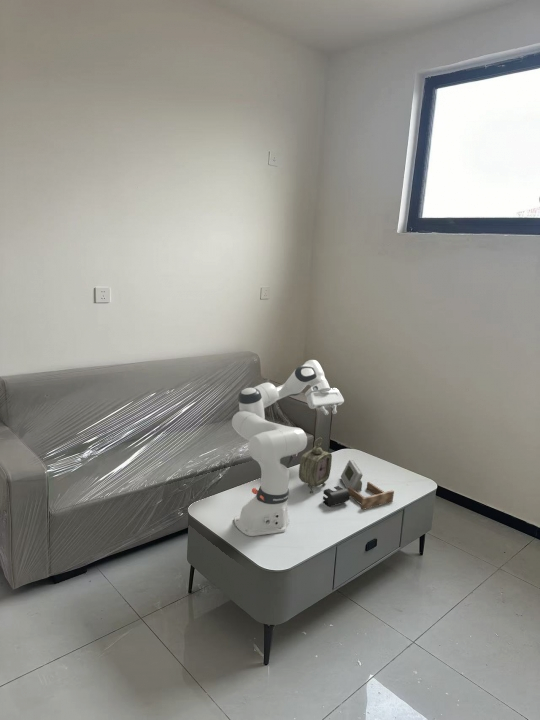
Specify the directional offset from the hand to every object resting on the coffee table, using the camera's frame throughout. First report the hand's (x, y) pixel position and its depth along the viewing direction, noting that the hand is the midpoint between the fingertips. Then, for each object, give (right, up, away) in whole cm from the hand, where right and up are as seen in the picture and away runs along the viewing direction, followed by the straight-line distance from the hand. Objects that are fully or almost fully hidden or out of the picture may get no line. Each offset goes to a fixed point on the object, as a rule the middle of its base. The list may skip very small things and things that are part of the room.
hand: (331, 413), depth 248 cm
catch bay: (+14, -36, -20) cm, 44 cm away
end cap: (-1, -37, -27) cm, 46 cm away
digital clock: (+8, -34, -10) cm, 36 cm away
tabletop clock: (-10, -33, -14) cm, 38 cm away
